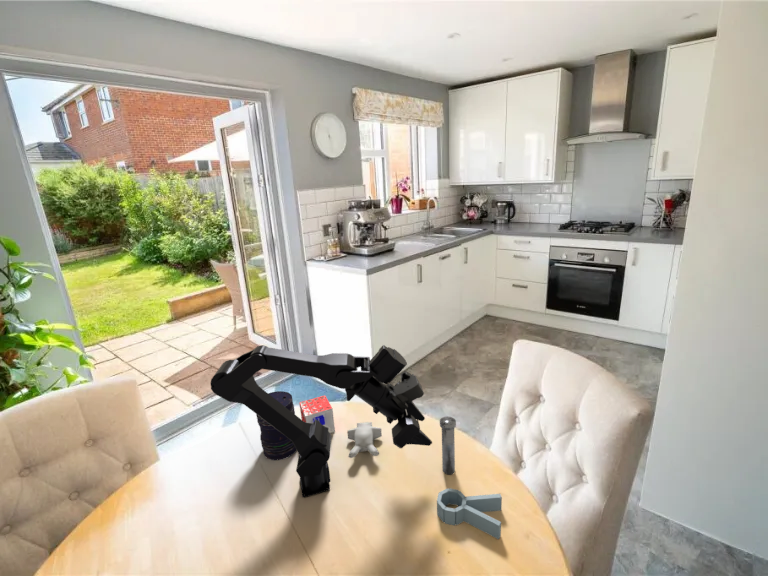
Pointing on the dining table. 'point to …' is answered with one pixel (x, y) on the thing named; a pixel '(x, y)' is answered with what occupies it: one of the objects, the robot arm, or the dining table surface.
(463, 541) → the dining table surface
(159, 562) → the dining table surface
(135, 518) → the dining table surface
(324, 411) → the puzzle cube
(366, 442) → the grey figurine
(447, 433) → the hinge pin
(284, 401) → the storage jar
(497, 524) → the grey ring with prongs
